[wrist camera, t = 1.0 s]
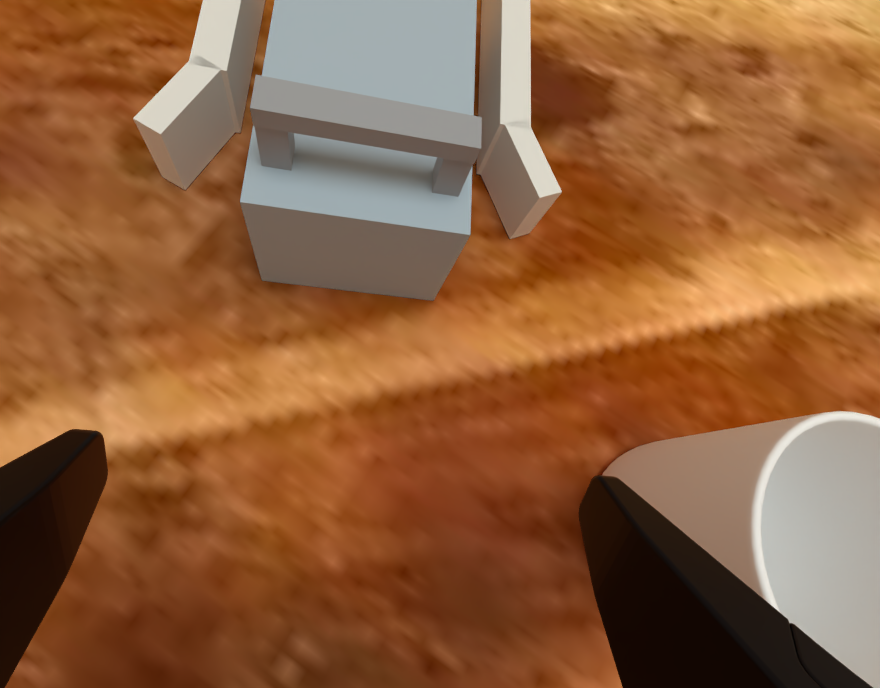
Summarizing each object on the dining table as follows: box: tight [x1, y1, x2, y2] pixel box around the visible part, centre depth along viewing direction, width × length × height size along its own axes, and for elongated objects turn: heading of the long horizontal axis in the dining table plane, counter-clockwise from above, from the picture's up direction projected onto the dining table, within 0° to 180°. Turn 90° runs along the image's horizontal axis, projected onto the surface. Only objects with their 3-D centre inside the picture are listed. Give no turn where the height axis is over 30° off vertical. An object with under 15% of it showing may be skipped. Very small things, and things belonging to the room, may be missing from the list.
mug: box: [602, 411, 880, 688], centre depth 20 cm, size 12×8×10 cm
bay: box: [133, 0, 562, 239], centre depth 27 cm, size 21×18×4 cm
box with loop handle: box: [240, 0, 482, 301], centre depth 22 cm, size 15×8×10 cm, turn 178°
